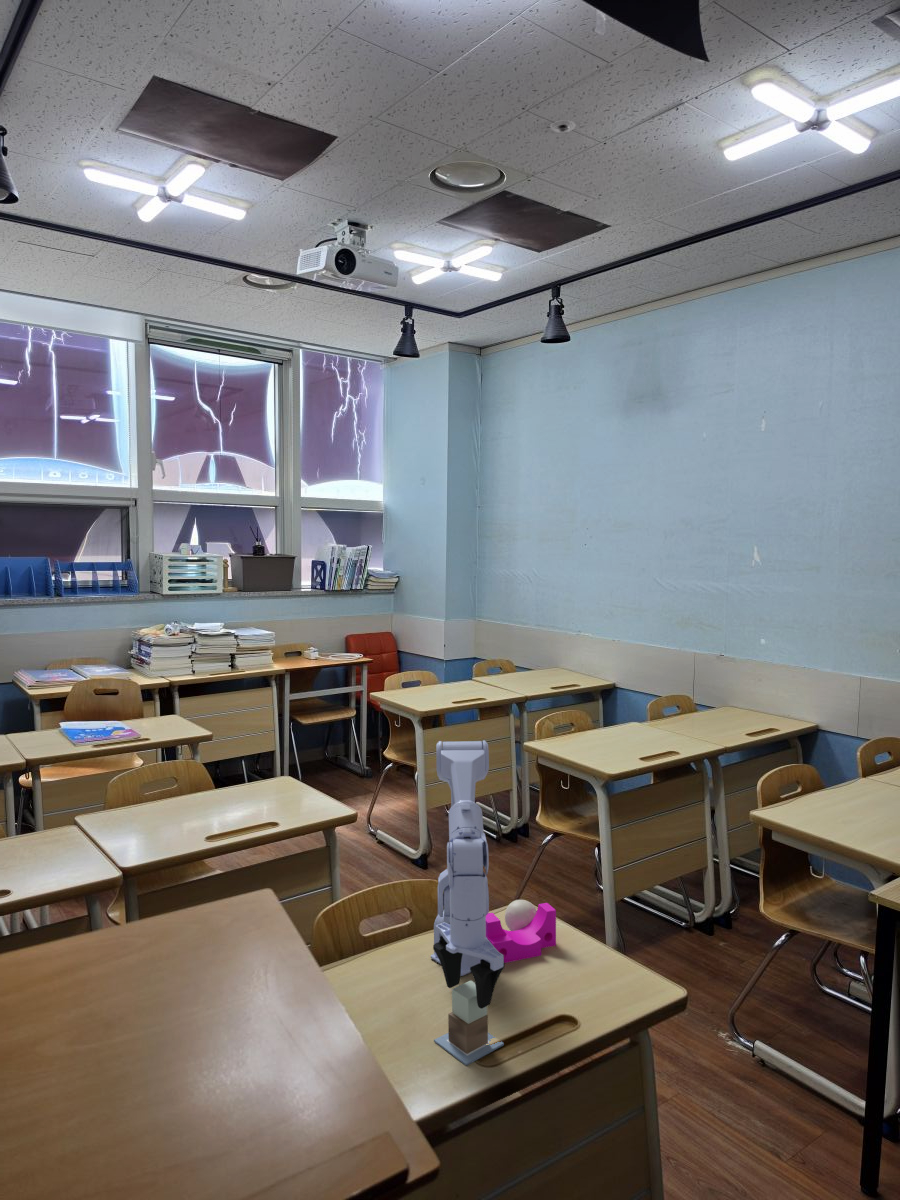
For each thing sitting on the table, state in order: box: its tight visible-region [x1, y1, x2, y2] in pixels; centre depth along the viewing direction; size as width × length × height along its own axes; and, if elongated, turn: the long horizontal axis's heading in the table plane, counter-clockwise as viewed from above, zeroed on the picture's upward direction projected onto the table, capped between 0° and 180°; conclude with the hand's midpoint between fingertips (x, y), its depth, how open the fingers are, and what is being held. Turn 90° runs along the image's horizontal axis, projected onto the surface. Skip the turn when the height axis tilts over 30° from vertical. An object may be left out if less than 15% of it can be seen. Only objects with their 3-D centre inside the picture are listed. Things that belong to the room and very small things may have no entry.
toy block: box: [486, 902, 557, 964], centre depth 157 cm, size 15×6×8 cm, turn 111°
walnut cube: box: [447, 1011, 489, 1054], centre depth 127 cm, size 4×4×4 cm
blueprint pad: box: [433, 1032, 505, 1066], centre depth 128 cm, size 8×8×1 cm
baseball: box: [504, 899, 537, 931], centre depth 165 cm, size 7×7×7 cm
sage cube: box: [451, 980, 488, 1024], centre depth 127 cm, size 4×4×4 cm
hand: (468, 995), depth 127 cm, fingers open, 7 cm apart
